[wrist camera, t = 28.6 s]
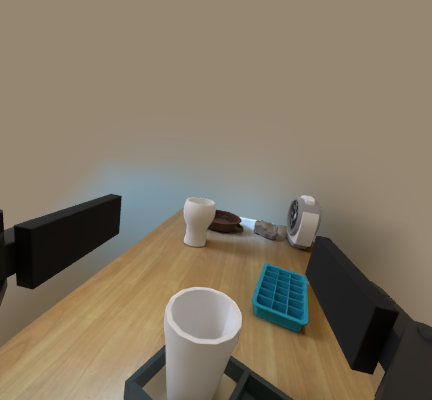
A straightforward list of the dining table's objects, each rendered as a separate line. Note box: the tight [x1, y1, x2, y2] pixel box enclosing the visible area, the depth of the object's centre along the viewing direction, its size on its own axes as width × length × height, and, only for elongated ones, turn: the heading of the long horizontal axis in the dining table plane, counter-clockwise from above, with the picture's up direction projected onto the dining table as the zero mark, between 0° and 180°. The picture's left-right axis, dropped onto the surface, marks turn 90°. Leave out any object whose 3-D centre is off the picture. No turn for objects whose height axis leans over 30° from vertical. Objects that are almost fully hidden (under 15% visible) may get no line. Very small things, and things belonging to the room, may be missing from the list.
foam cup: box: [164, 287, 242, 400], centre depth 29 cm, size 10×9×13 cm
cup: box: [184, 197, 216, 247], centre depth 76 cm, size 11×11×15 cm
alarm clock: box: [287, 195, 321, 249], centre depth 91 cm, size 18×8×20 cm, turn 174°
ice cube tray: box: [252, 264, 309, 332], centre depth 55 cm, size 12×20×3 cm, turn 159°
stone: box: [254, 221, 278, 240], centre depth 95 cm, size 8×10×6 cm
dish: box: [208, 210, 243, 232], centre depth 96 cm, size 17×22×5 cm
